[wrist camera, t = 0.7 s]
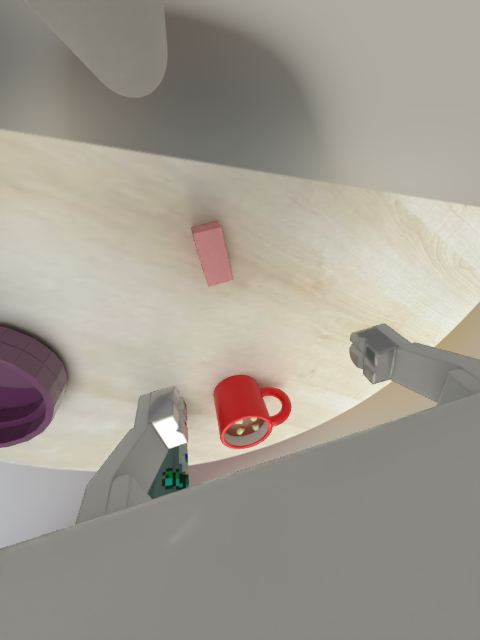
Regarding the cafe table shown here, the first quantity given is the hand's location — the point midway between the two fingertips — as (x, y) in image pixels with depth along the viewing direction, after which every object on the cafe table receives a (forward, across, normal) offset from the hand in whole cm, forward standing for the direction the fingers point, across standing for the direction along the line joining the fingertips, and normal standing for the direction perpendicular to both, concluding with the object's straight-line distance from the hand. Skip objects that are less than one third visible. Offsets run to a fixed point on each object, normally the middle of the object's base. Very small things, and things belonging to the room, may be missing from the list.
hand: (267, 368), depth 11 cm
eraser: (+21, 0, 0) cm, 21 cm away
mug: (+22, 0, +26) cm, 34 cm away
